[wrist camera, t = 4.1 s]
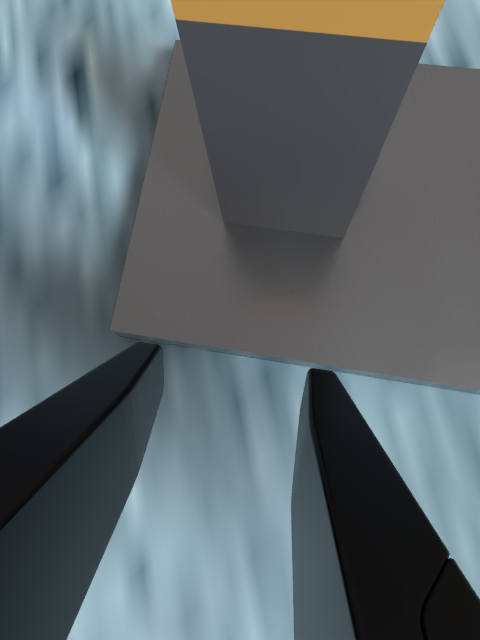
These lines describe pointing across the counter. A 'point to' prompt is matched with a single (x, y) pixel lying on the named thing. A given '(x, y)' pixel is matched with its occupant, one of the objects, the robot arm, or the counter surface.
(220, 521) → the counter surface
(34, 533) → the robot arm
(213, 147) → the block
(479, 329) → the breaker strip
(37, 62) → the counter surface
